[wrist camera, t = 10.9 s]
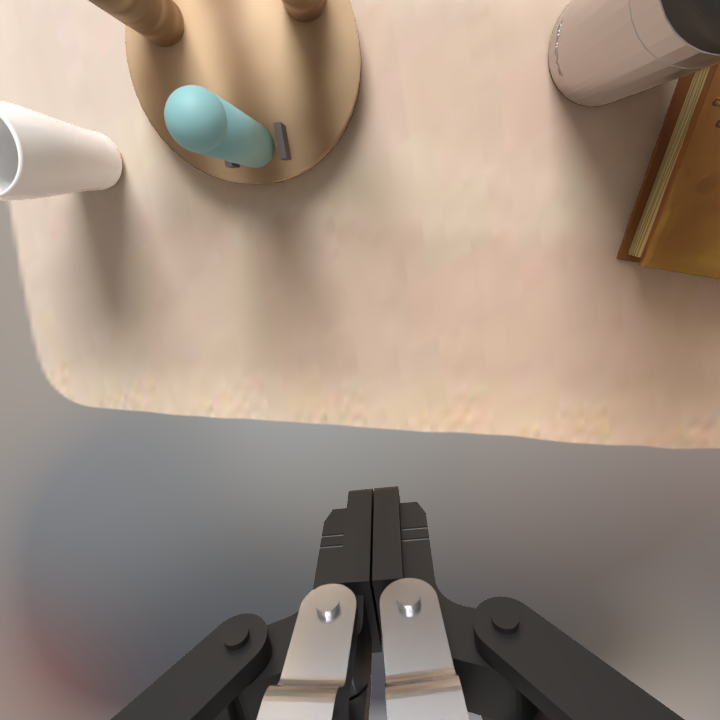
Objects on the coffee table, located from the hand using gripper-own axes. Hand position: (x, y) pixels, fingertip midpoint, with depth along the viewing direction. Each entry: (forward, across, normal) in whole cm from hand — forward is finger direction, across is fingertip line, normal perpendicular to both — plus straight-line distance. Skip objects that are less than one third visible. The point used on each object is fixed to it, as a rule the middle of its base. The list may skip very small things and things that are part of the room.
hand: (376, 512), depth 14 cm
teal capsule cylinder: (+34, +9, -14) cm, 37 cm away
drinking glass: (+37, +26, -16) cm, 48 cm away
